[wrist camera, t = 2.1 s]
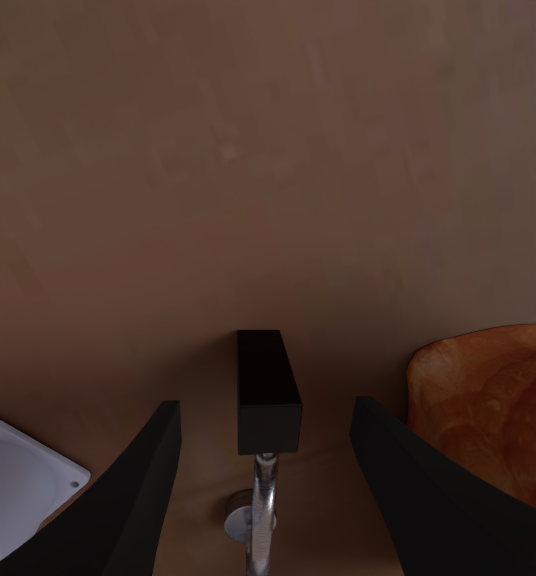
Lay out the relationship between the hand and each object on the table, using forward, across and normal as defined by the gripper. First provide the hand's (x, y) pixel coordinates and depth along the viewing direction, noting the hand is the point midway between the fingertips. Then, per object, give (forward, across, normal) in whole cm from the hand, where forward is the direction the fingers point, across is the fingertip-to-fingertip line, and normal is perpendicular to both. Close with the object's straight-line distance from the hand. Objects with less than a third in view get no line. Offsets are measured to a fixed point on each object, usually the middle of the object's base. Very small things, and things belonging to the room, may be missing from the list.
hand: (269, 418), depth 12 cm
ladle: (+6, 0, +7) cm, 9 cm away
